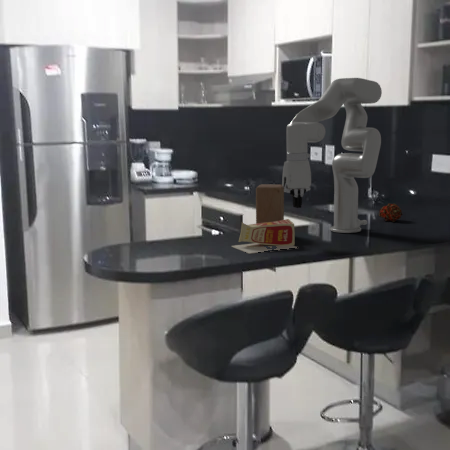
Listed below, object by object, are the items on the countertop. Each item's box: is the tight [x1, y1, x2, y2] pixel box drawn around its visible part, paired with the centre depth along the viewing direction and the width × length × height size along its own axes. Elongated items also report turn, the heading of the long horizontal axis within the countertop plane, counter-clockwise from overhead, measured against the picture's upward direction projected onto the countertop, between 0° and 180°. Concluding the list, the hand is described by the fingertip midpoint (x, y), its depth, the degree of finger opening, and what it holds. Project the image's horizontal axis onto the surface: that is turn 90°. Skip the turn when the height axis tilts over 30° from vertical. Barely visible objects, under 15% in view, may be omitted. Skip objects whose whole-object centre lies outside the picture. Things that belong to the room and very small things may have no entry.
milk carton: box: [238, 218, 296, 246], centre depth 236 cm, size 9×9×20 cm
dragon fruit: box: [378, 203, 404, 222], centre depth 286 cm, size 8×8×12 cm
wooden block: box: [255, 183, 285, 224], centre depth 255 cm, size 10×10×20 cm
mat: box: [231, 243, 298, 255], centre depth 234 cm, size 20×14×1 cm
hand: (297, 207), depth 237 cm, fingers closed
